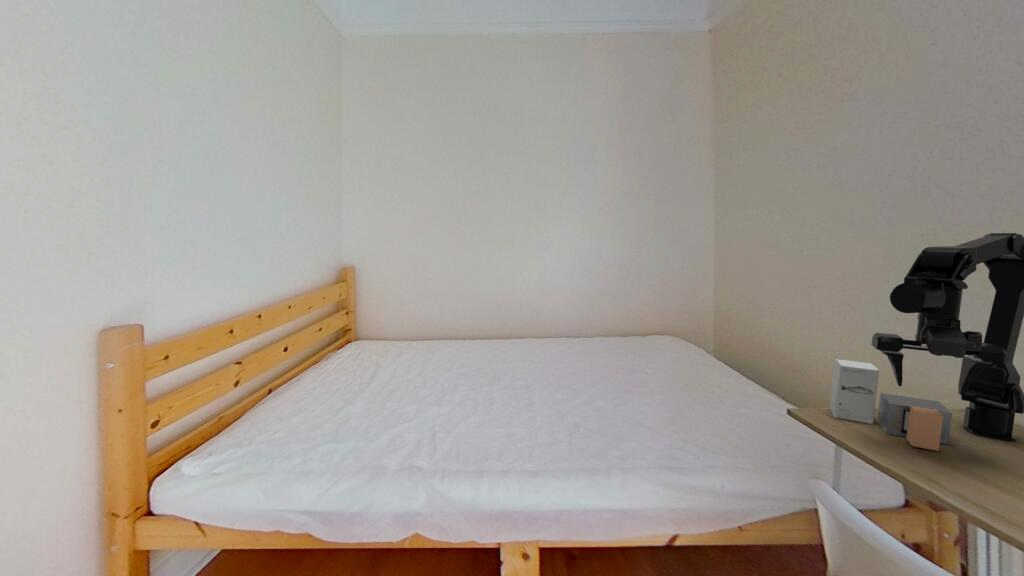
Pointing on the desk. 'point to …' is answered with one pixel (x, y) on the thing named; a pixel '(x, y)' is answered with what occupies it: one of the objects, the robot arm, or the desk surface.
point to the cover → (923, 427)
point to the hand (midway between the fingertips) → (929, 389)
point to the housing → (895, 405)
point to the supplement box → (854, 390)
